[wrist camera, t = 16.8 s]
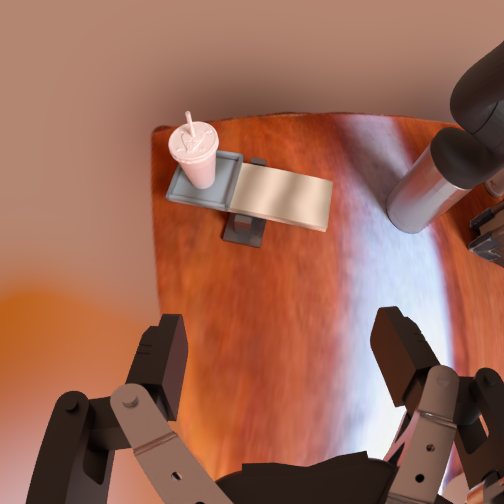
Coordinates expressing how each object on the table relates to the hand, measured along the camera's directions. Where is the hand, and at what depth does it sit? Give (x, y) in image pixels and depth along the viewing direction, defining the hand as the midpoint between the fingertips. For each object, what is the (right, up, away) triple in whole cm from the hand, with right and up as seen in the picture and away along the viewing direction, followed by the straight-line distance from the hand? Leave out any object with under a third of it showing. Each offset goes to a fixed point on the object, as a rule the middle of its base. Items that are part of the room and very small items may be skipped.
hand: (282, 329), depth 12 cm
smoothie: (-9, +14, +33) cm, 37 cm away
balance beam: (-1, +12, +34) cm, 36 cm away
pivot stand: (-1, +11, +39) cm, 40 cm away
